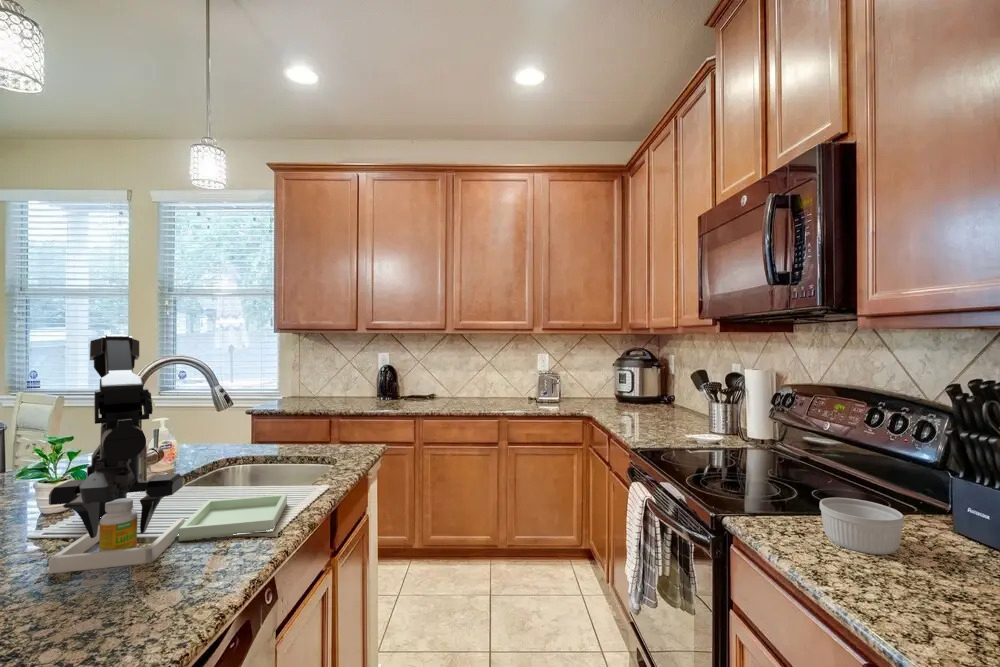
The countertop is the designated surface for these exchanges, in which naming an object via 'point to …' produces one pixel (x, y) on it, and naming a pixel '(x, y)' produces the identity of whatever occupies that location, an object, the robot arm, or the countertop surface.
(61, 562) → the bay
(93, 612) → the countertop surface
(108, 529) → the supplement bottle
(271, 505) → the tray
